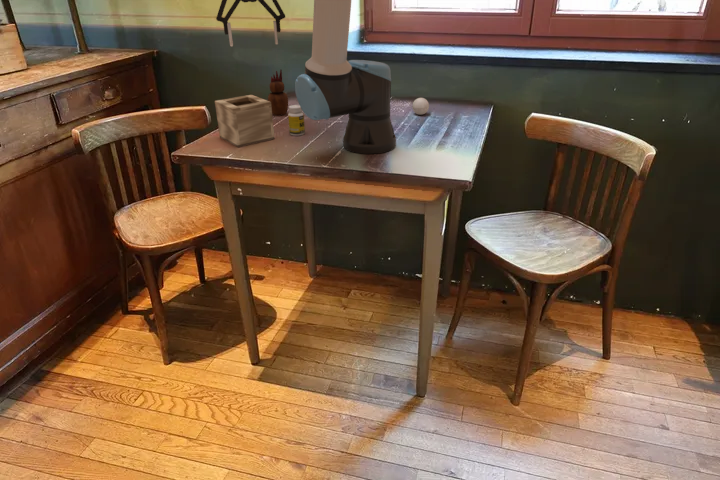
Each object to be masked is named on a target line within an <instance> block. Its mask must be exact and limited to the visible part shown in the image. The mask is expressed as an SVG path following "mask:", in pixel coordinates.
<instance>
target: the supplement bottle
mask: <svg viewBox="0 0 720 480" xmlns="http://www.w3.org/2000/svg"><path fill="white" fill-rule="evenodd" d="M304 114H305V113H304V112H303V111H302V109H301V107H300V105H299V104H294V105H293V104H292V105H288V114H287V116H288V117H287V118H288V133H289V135H290V136H294V137H297V136H298V137H300V136H303V135H305V133H306V129H305V115H304Z"/></svg>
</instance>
